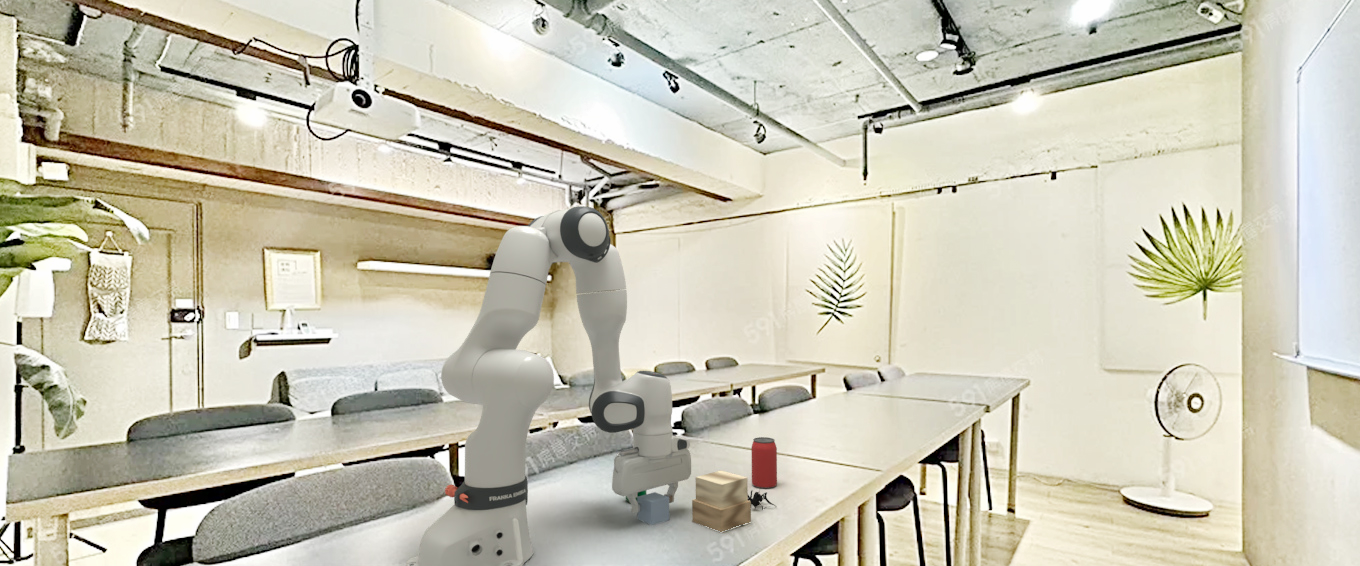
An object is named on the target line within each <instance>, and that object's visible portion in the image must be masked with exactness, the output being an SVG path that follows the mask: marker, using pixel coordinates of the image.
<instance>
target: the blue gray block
mask: <svg viewBox="0 0 1360 566" xmlns="http://www.w3.org/2000/svg"><path fill="white" fill-rule="evenodd" d="M637 503H640V504H641V512H638V513H636V514H637V518H636V519H637V520H639V521H641V522H643V523H645V524H648V525H650V526H653V525H656V524H657V525H658V524H660V523H664V522H666V521H670V503H669V497H667V496H664V494H661V493H658V492H656V491H654V492H651V493H647V494H646V495H642V496H638V497H637Z"/></svg>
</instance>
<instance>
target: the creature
mask: <svg viewBox="0 0 1360 566" xmlns="http://www.w3.org/2000/svg"><path fill="white" fill-rule="evenodd" d="M761 489H762V488H761V487H760V488H759V490H758V491H755V492H754V494H753V489H751V491H750V494H748V500H749V501H751V506H752V507H754V509H757V508H758V506H760V507H761V510H762V511H764V510H765V509H766V507H764V506H763V505H762V502H763V500H765V501H766V502H767V504H769V505H772V506H774V507H777V505H776V504H774V503H772V502H771V501H770V500H769V499H768V498H767V494H768V492H764V493H763V494H761V493H760V492H761ZM749 495H750V496H749ZM763 509H764V510H763Z"/></svg>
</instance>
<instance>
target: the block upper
mask: <svg viewBox="0 0 1360 566" xmlns="http://www.w3.org/2000/svg"><path fill="white" fill-rule="evenodd" d="M748 484H749V483H748V477H747V476H743V475H740V474H736V473H732V472H728V471H724V470H718V471H714V472H710V473H707V474H703V475H698V476H695V499H696V500H697V501H700V502H703V503H706V504H709V505H712V506H715V507H718V508H721V509H724V508H727V507H730V506H733V505H736V504H739V503H742V502H745V501H748V495H749V493H748V491H749V489H748V487H749V486H748Z"/></svg>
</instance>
